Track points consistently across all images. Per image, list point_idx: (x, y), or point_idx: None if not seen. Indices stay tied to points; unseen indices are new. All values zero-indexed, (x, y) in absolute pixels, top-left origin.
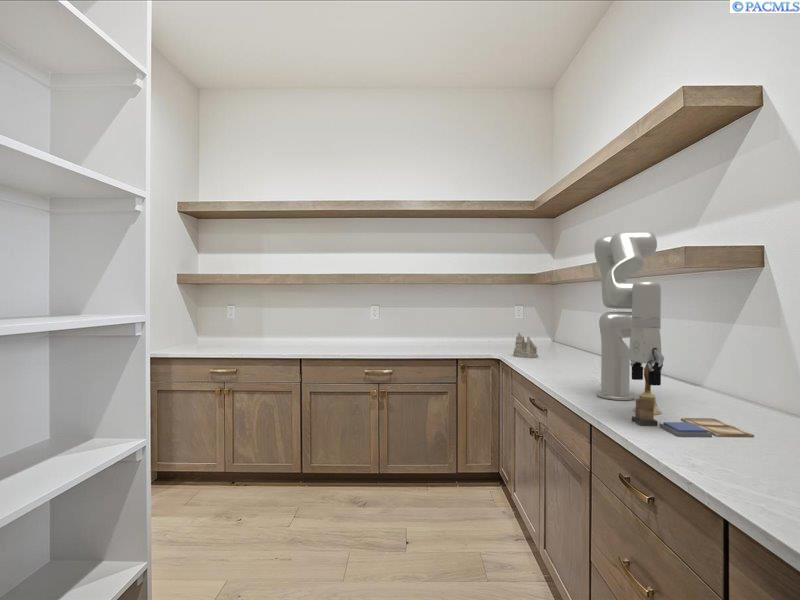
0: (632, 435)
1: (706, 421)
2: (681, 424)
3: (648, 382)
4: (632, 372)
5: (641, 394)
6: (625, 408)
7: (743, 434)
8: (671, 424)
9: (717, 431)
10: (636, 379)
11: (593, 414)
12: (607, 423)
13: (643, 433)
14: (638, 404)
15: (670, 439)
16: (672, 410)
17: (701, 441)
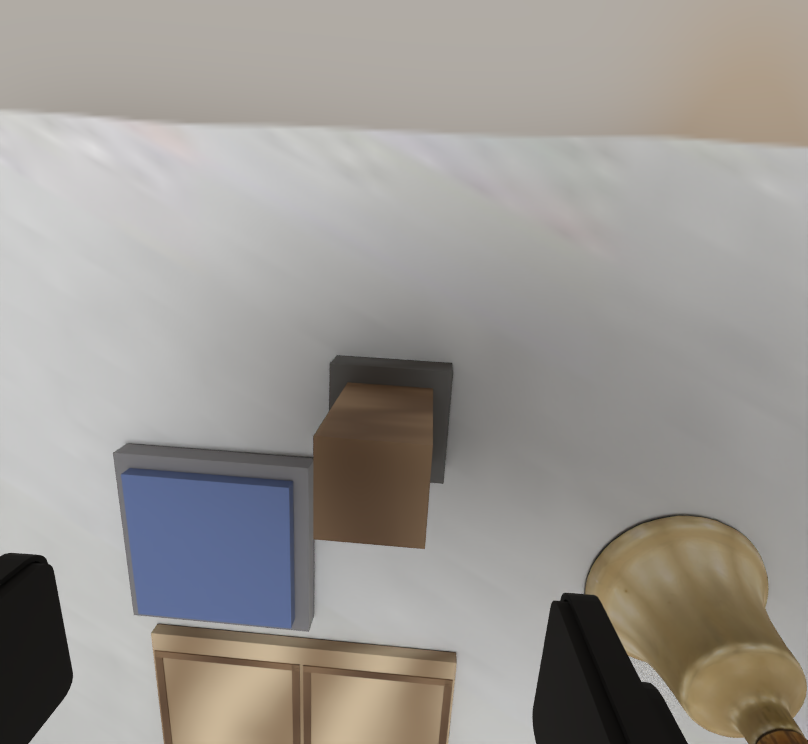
0: (114, 181)
1: (385, 736)
2: (243, 557)
3: (3, 572)
4: (614, 705)
5: (769, 662)
6: (786, 502)
7: (165, 737)
8: (237, 503)
9: (202, 668)
10: (552, 641)
11: (663, 156)
12: (395, 145)
13: (168, 281)
14: (380, 423)
15: (71, 374)
16: None
17: (65, 509)
